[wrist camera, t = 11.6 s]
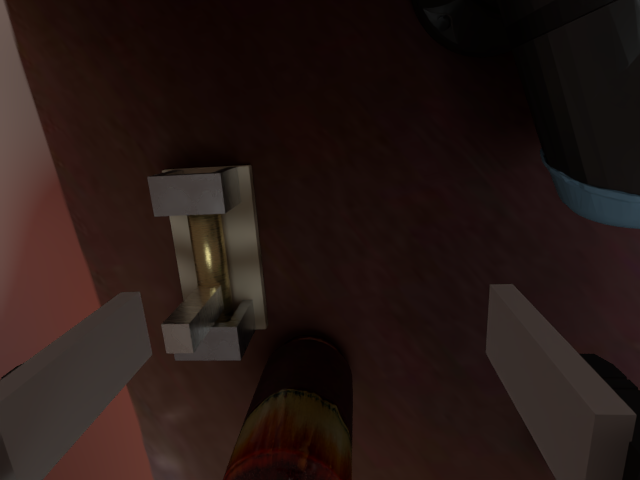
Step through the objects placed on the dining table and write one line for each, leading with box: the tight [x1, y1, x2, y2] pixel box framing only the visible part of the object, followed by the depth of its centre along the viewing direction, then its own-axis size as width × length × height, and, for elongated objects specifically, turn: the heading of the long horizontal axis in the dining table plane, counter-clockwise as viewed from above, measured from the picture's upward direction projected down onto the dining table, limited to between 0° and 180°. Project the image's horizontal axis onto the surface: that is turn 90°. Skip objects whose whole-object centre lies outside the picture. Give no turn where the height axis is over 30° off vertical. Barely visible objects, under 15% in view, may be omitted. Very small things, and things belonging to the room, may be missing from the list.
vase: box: [223, 335, 353, 480], centre depth 40 cm, size 11×11×26 cm
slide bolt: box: [161, 214, 234, 353], centre depth 42 cm, size 18×4×12 cm, turn 4°
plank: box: [162, 165, 268, 329], centre depth 48 cm, size 20×10×1 cm, turn 4°
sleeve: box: [148, 167, 241, 216], centre depth 43 cm, size 4×7×6 cm, turn 94°
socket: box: [174, 300, 256, 360], centre depth 47 cm, size 4×7×7 cm, turn 94°
